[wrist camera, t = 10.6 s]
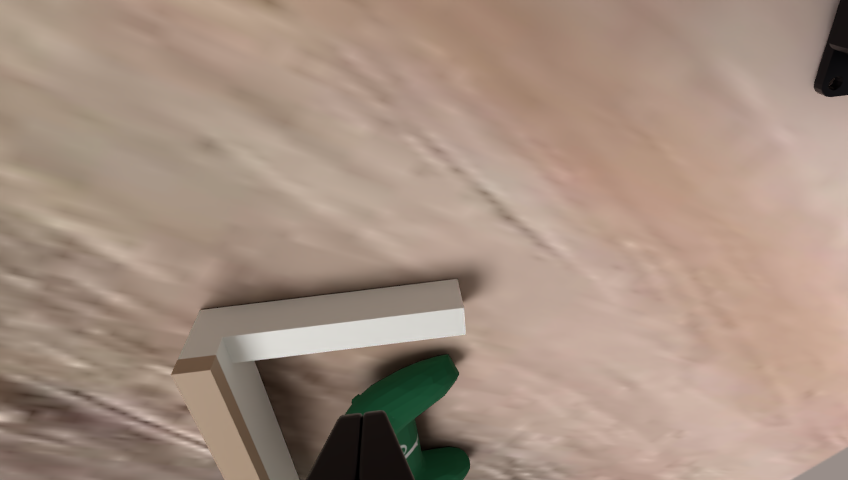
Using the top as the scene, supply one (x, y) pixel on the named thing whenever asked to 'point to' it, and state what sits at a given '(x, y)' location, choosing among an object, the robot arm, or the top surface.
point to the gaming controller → (416, 414)
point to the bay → (289, 336)
